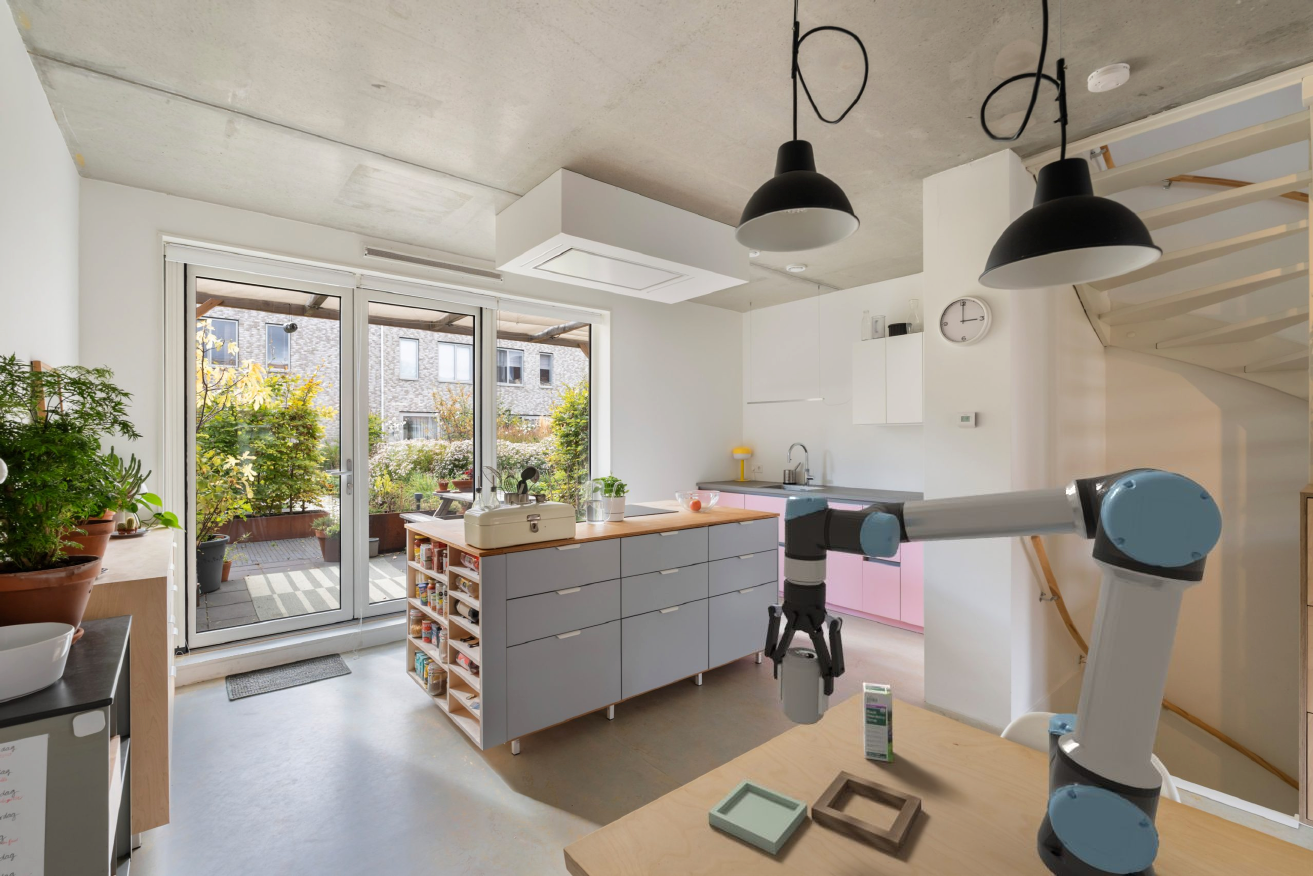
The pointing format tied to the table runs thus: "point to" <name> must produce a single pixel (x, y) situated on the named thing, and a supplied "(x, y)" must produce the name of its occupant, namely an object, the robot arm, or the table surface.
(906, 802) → the holder
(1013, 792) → the table surface
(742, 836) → the tray
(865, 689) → the syrup box
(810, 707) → the can
